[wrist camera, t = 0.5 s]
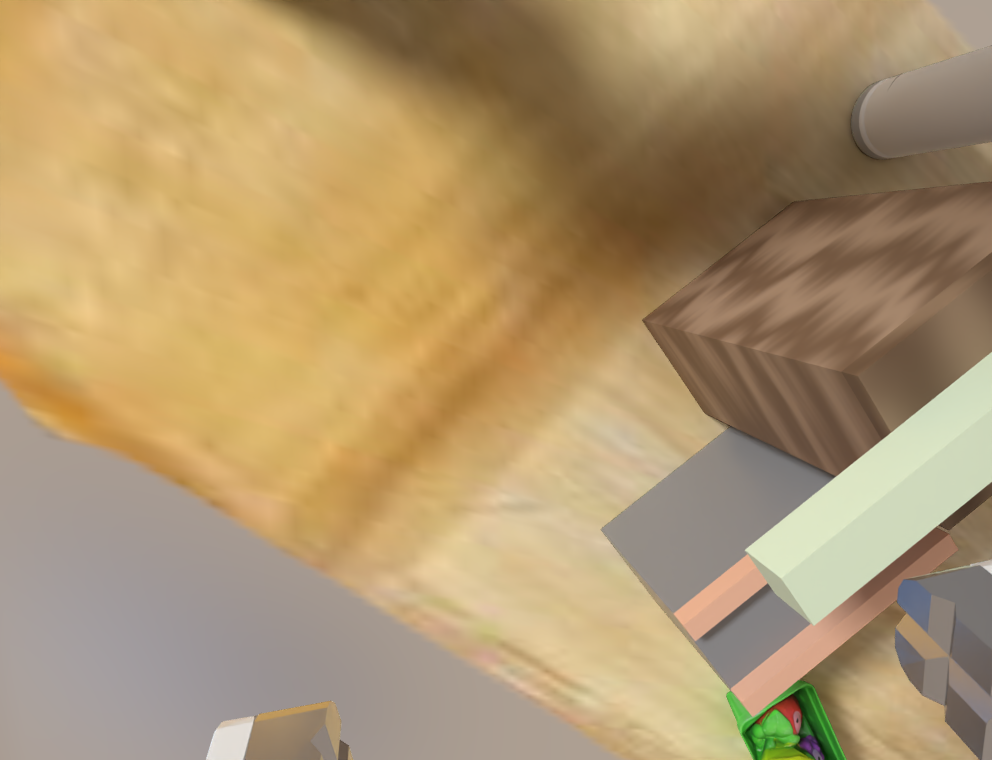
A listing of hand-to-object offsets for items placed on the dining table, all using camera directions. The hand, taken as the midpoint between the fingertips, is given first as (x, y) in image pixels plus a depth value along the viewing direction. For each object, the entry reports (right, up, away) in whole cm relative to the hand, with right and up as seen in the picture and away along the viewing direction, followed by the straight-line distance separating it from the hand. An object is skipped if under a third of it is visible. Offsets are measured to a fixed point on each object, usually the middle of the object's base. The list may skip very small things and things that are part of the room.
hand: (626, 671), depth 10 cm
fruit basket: (+23, -28, +58) cm, 68 cm away
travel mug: (+30, +26, +49) cm, 63 cm away
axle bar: (+20, +2, +24) cm, 32 cm away
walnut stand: (+19, +10, +50) cm, 54 cm away
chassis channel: (+17, -7, +52) cm, 55 cm away
